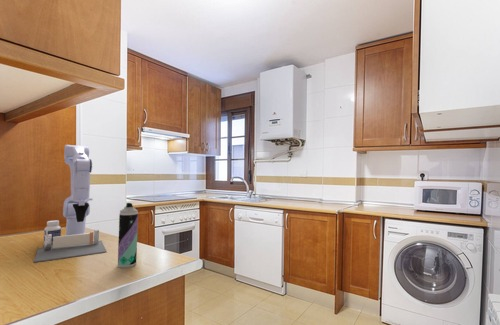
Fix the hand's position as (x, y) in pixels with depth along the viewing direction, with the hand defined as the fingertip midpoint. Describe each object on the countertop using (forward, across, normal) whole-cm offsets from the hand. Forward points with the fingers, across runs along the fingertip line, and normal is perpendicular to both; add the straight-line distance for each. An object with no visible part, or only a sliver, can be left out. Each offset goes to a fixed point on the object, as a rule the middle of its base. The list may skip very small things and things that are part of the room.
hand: (80, 221), depth 107 cm
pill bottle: (+10, +4, +9) cm, 14 cm away
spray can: (+10, -35, -12) cm, 39 cm away
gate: (+9, -4, +2) cm, 10 cm away
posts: (+9, -4, +2) cm, 11 cm away
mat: (+9, -8, +2) cm, 13 cm away
